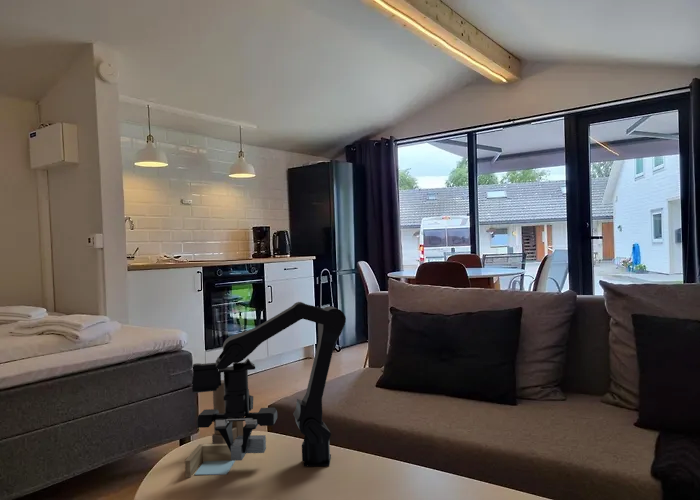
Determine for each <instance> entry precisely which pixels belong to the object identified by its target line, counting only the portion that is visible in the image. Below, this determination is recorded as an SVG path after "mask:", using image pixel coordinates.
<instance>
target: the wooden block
mask: <svg viewBox="0 0 700 500" xmlns="http://www.w3.org/2000/svg"><path fill="white" fill-rule="evenodd" d="M224 395H225V394H224V379H223V380H222V379H221V386H219V388H217V391H212V401H213V402H212V404H213V405H212V406H213V409H218V411H219V414H220V413H225V400H224ZM229 418H232V417H229ZM215 427H216V422H213V430H214V433H212V435H211V438H212V439H211V440H212V441H211V442H212V443H211V444H226V442H225V440H224V438H223V437H222V435H221V434H220V432H219V431H216V430H215ZM243 427H244V421H232V433H233V442H234V441H235V439H236V438H237V437H238V436H243Z"/></svg>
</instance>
